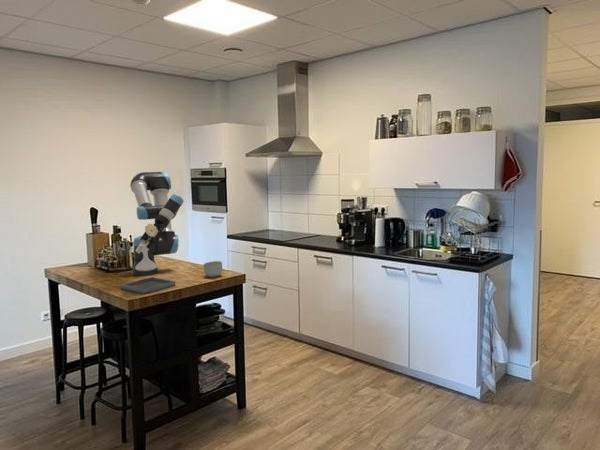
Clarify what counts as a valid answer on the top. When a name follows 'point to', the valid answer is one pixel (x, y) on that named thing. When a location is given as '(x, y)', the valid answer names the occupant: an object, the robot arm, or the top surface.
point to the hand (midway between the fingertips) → (140, 252)
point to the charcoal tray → (148, 285)
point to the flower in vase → (146, 262)
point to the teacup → (213, 268)
